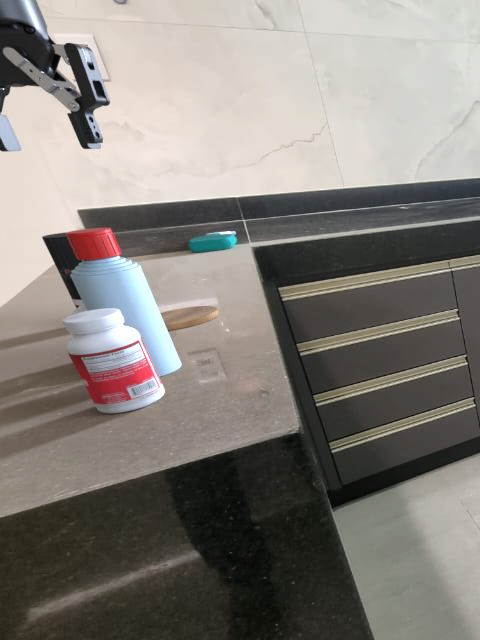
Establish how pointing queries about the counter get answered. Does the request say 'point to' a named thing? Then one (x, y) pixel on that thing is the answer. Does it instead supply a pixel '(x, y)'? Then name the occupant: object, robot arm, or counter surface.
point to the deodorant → (61, 253)
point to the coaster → (188, 316)
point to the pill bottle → (112, 361)
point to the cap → (93, 243)
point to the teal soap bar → (213, 242)
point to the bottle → (127, 304)
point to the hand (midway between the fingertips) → (52, 149)
